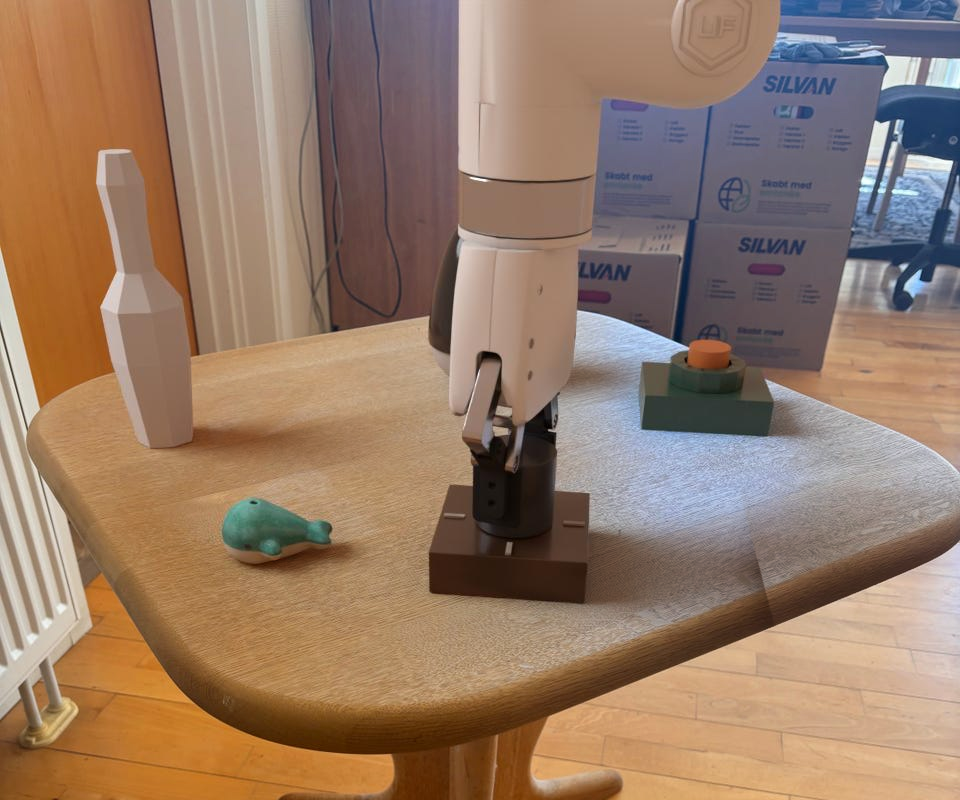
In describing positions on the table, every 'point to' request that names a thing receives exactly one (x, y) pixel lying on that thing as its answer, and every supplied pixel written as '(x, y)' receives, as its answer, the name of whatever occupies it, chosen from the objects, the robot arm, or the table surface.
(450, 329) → the pump dispenser
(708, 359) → the orange push button
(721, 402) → the green button base
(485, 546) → the dial panel
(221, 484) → the table surface
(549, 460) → the dial
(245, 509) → the whale figurine
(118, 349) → the low poly bottle
